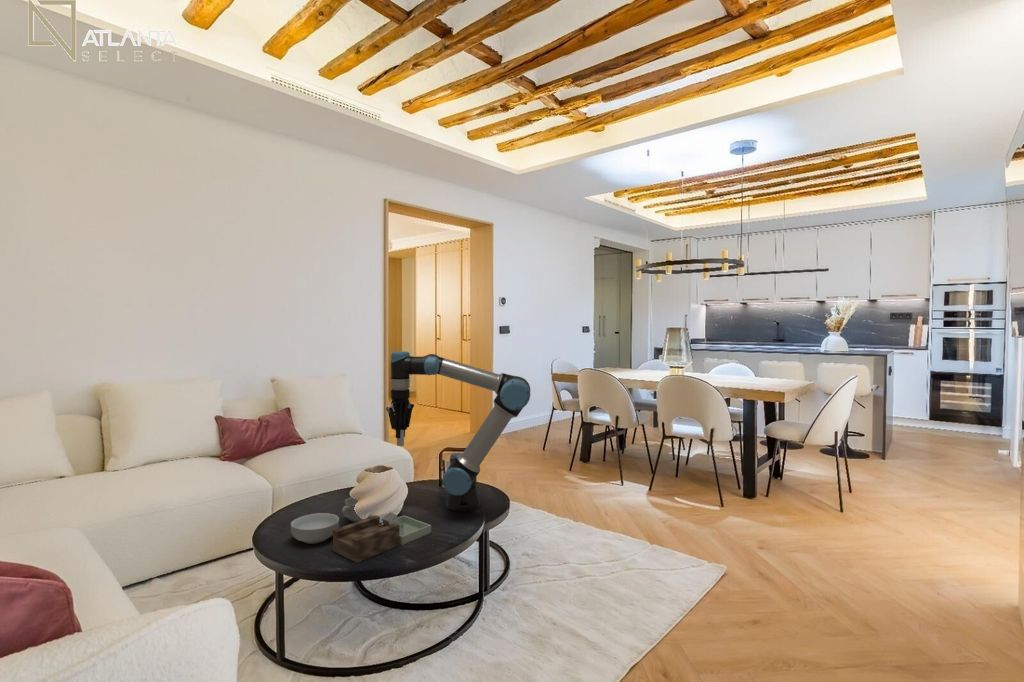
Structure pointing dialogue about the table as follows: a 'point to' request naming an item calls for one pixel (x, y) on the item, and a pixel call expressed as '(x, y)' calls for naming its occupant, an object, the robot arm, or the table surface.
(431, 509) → the table surface
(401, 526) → the grey cube
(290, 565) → the table surface
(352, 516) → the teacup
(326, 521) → the cereal bowl
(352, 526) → the slot block
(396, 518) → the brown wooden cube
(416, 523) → the tray
